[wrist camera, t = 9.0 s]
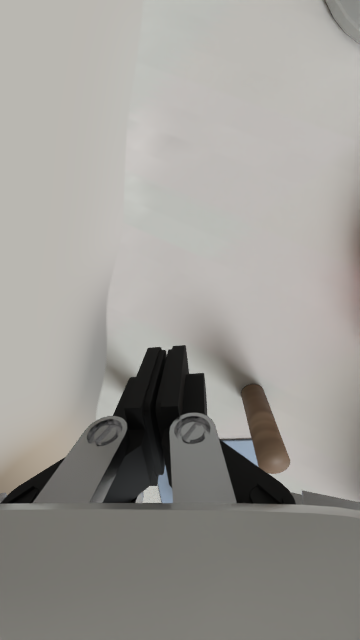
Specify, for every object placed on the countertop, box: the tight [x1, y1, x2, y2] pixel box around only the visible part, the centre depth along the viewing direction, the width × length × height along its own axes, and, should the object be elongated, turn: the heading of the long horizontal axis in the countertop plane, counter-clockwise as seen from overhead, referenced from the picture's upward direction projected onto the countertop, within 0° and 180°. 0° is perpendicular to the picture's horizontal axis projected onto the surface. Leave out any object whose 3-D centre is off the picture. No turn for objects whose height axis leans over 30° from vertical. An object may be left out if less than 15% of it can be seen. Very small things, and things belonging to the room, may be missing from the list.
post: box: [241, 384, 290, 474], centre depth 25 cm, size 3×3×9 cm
